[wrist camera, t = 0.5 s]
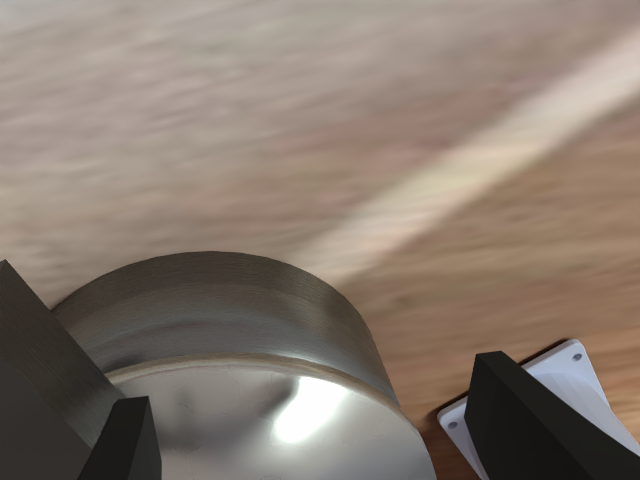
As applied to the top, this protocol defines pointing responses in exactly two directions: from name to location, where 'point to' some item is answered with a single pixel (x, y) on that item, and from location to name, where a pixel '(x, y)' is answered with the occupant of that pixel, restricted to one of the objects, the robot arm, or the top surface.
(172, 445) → the cooker lid
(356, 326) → the cooker pot
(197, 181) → the top surface
